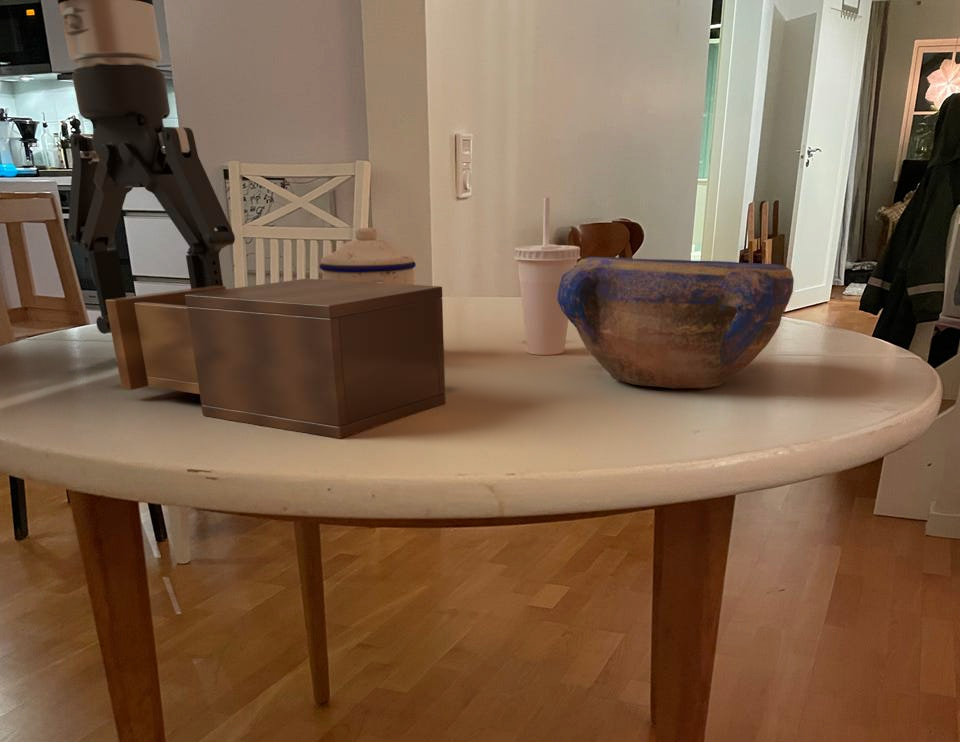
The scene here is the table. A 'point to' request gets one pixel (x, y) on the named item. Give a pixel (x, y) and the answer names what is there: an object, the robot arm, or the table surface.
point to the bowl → (674, 316)
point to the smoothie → (544, 290)
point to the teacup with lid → (368, 261)
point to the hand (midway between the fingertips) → (162, 326)
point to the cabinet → (318, 353)
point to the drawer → (153, 340)
